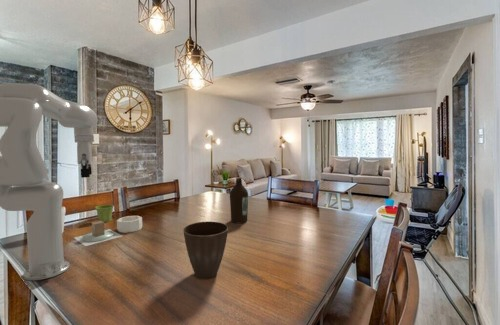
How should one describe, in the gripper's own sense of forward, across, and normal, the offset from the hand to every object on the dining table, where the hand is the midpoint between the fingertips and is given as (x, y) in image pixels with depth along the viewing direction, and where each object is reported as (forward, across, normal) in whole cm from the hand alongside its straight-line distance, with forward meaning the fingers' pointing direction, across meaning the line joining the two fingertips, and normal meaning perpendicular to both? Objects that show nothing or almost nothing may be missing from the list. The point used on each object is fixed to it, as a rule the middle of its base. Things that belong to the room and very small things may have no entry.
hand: (86, 175), depth 121 cm
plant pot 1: (+31, -27, +5) cm, 41 cm away
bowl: (+30, -3, +17) cm, 35 cm away
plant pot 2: (+29, +60, +39) cm, 77 cm away
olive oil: (+30, +9, +74) cm, 81 cm away
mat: (+30, +3, +4) cm, 30 cm away
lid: (+29, +3, +4) cm, 30 cm away
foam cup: (+30, -13, -16) cm, 37 cm away
